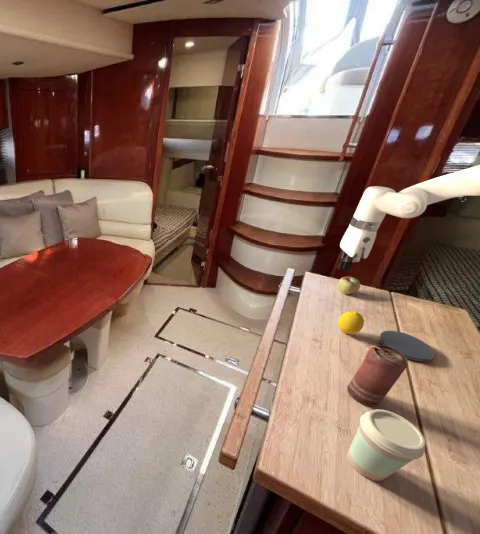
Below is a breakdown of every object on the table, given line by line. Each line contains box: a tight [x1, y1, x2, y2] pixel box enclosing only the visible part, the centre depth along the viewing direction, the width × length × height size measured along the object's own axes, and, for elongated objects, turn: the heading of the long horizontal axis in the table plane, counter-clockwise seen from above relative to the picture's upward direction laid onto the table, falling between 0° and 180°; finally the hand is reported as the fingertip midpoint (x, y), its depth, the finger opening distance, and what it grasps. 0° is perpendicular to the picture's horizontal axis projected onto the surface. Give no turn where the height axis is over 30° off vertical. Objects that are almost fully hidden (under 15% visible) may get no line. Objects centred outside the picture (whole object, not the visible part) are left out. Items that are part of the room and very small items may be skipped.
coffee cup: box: [346, 408, 426, 482], centre depth 57 cm, size 8×8×12 cm
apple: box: [337, 276, 361, 295], centre depth 108 cm, size 6×8×6 cm
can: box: [346, 344, 409, 407], centre depth 69 cm, size 6×6×14 cm
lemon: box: [337, 310, 365, 335], centre depth 89 cm, size 6×6×8 cm
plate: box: [378, 330, 435, 362], centre depth 85 cm, size 11×11×2 cm
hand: (342, 269), depth 113 cm, fingers closed
